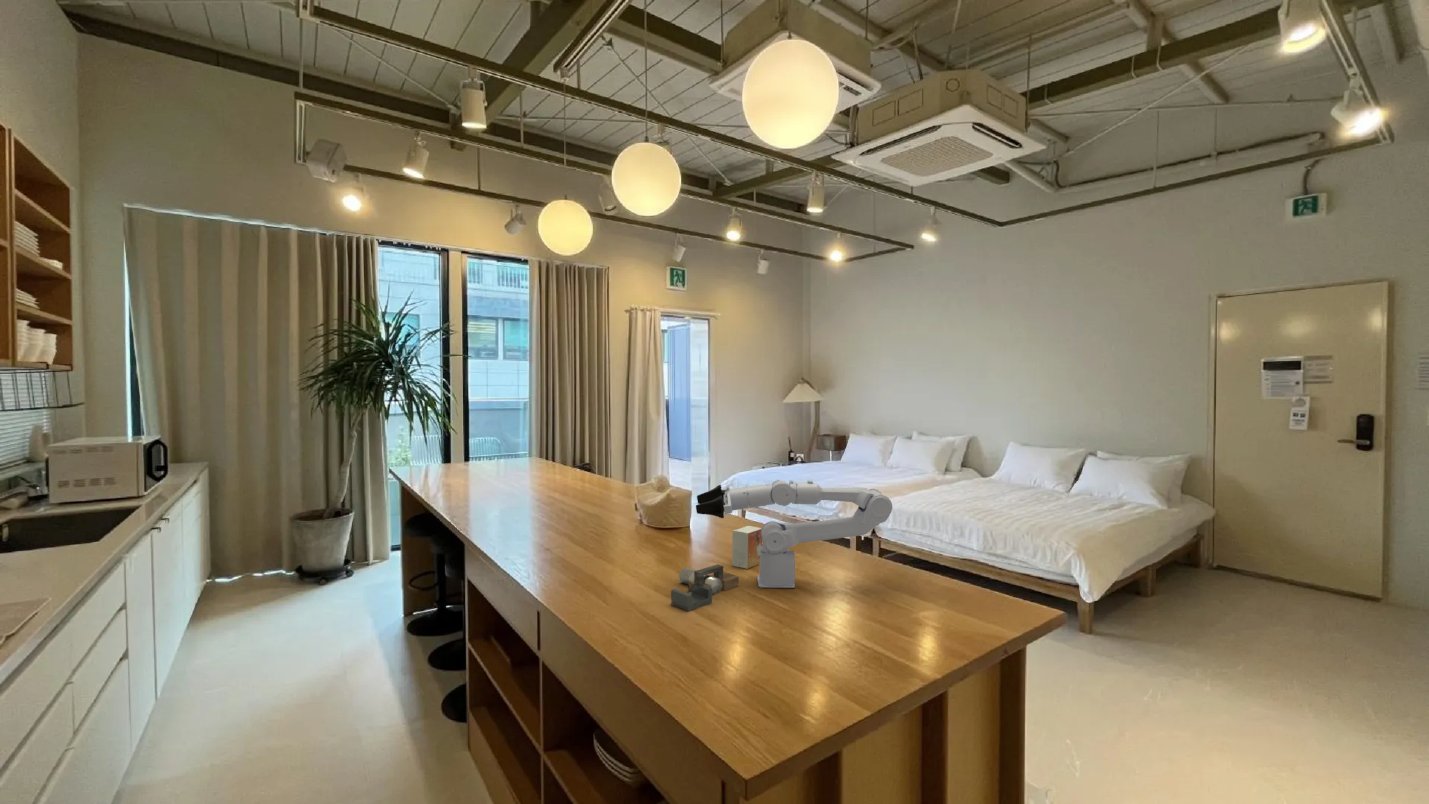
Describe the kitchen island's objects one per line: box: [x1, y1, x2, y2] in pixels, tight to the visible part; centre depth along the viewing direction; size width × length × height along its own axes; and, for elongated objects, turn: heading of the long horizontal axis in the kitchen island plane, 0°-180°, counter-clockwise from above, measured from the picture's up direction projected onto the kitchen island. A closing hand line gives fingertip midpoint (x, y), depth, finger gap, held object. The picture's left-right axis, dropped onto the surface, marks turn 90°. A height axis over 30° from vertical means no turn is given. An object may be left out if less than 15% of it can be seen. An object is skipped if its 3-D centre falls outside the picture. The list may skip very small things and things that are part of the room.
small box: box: [731, 525, 763, 570], centre depth 174 cm, size 8×6×10 cm
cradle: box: [670, 583, 713, 612], centre depth 143 cm, size 6×8×4 cm
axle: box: [678, 567, 722, 595], centre depth 154 cm, size 12×4×4 cm, turn 45°
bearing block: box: [688, 564, 740, 592], centre depth 154 cm, size 6×12×6 cm, turn 135°
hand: (696, 504), depth 158 cm, fingers open, 7 cm apart
